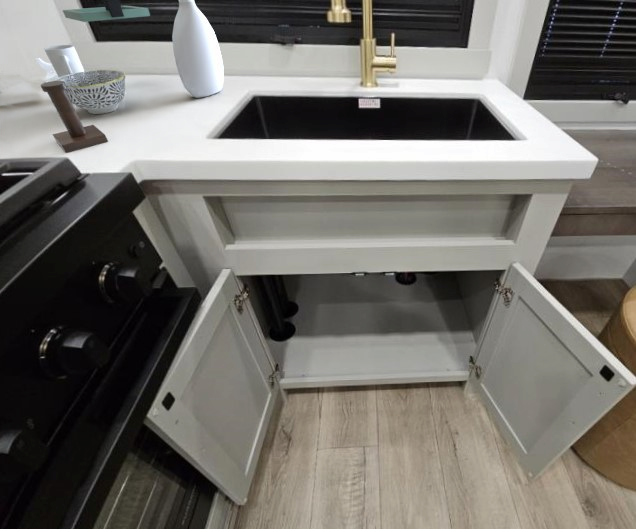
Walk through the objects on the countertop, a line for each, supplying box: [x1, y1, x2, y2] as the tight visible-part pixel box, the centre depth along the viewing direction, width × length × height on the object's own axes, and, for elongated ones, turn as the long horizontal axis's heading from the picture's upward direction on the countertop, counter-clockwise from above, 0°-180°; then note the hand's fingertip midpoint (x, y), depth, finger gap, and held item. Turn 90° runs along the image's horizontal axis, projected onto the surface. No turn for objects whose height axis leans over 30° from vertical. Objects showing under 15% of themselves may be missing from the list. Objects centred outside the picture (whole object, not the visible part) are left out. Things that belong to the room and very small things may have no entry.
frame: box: [62, 5, 151, 23], centre depth 84 cm, size 16×16×2 cm
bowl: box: [54, 69, 126, 115], centre depth 81 cm, size 16×16×8 cm
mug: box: [43, 44, 85, 77], centre depth 87 cm, size 10×7×12 cm, turn 33°
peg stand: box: [39, 81, 109, 153], centre depth 65 cm, size 8×8×11 cm
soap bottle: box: [171, 0, 225, 99], centre depth 84 cm, size 14×8×27 cm, turn 145°
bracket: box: [35, 57, 59, 83], centre depth 102 cm, size 13×7×8 cm, turn 28°
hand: (116, 16), depth 80 cm, fingers closed on frame, 2 cm apart
